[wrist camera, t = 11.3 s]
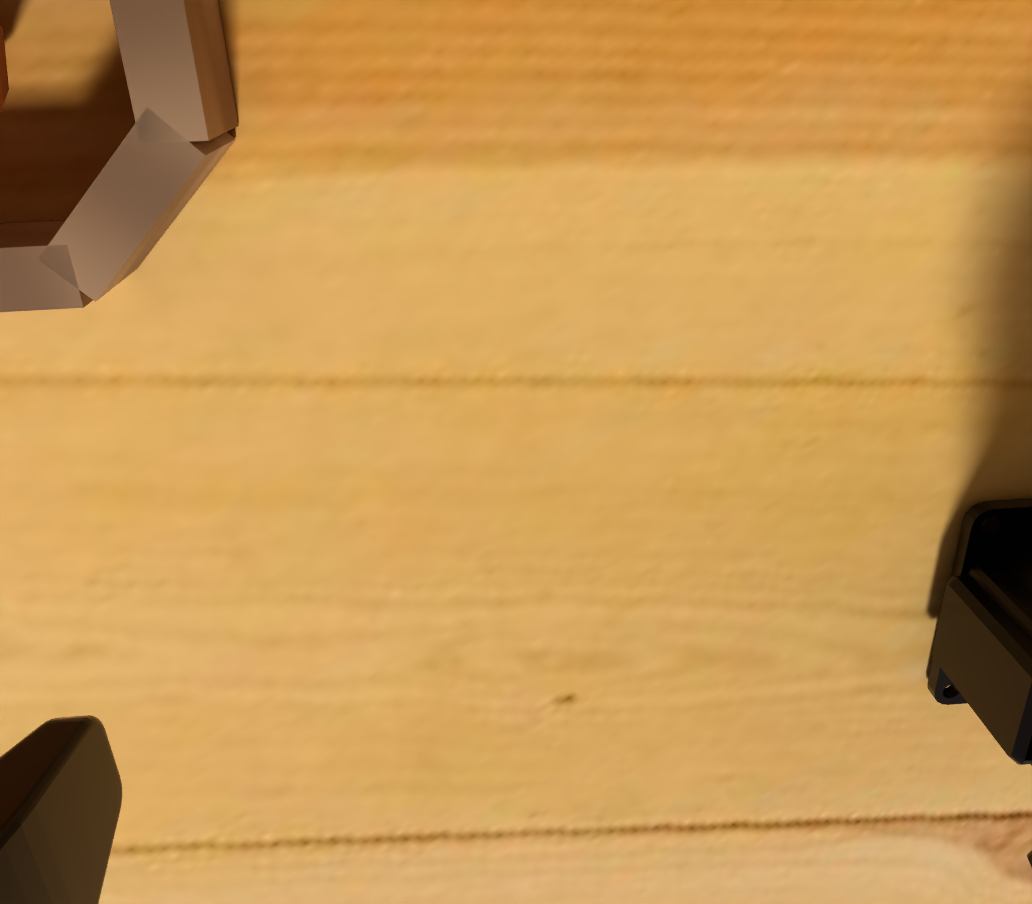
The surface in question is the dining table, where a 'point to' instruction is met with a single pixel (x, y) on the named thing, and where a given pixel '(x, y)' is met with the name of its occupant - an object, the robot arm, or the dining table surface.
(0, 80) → the carrot
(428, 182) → the dining table surface
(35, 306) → the bead ring
